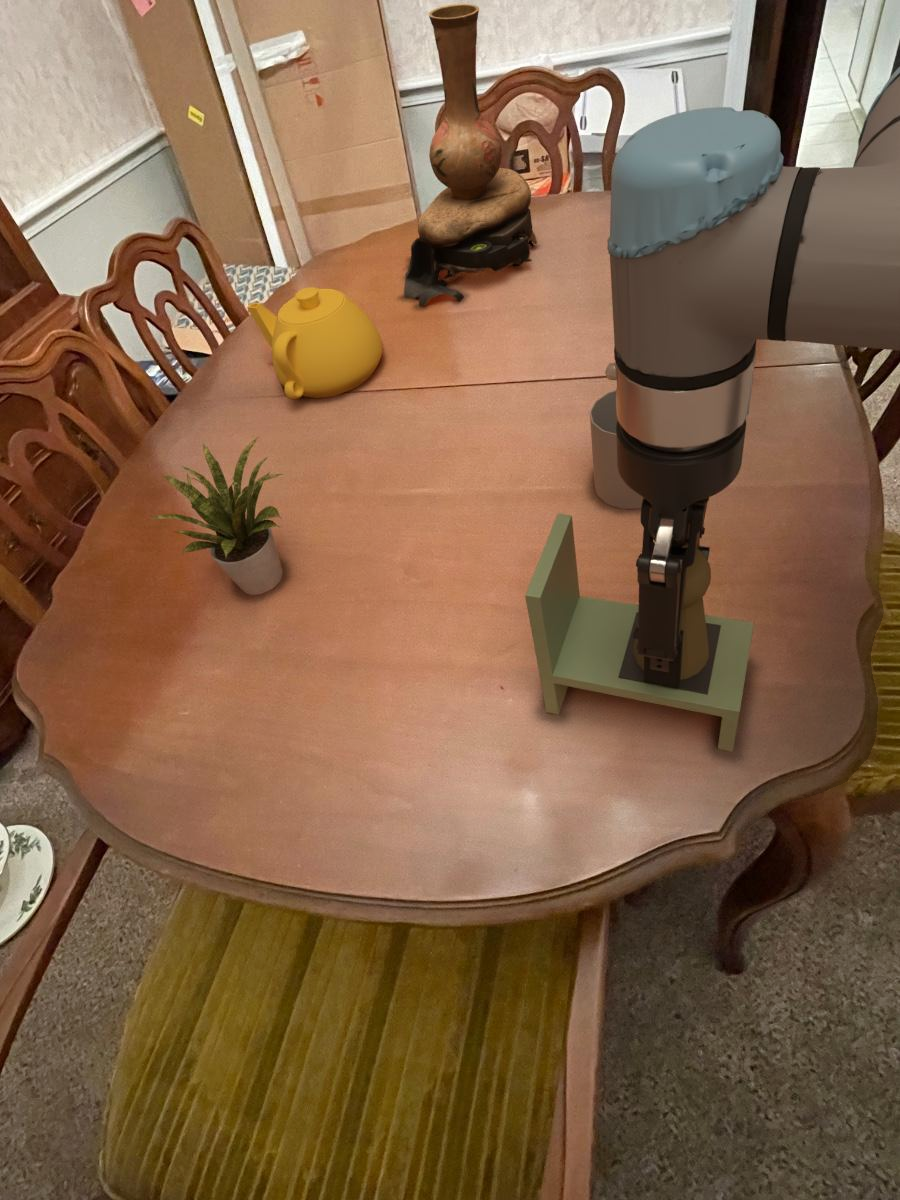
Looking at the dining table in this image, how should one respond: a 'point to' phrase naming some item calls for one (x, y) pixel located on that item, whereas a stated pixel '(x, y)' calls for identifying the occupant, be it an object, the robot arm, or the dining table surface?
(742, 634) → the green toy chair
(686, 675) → the brown peg doll
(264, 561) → the house plant
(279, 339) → the teapot
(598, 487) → the cup
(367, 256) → the dining table surface
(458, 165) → the vase
